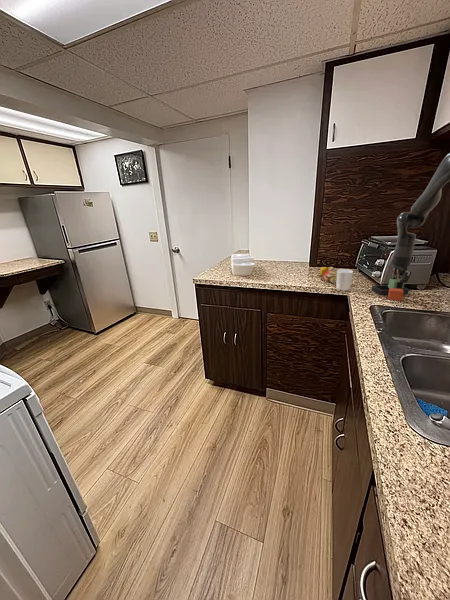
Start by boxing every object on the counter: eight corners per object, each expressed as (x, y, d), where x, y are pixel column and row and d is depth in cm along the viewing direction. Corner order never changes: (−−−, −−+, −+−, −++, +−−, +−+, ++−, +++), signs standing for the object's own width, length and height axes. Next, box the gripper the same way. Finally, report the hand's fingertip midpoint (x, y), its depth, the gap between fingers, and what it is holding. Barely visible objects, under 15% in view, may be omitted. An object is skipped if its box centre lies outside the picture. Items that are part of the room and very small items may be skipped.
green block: (397, 287, 129) (399, 278, 127) (403, 289, 125) (405, 280, 123) (387, 287, 129) (389, 279, 127) (392, 290, 125) (394, 281, 123)
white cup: (353, 289, 134) (356, 271, 130) (344, 292, 130) (347, 273, 127) (341, 285, 140) (343, 268, 137) (331, 288, 137) (333, 270, 133)
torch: (322, 279, 165) (337, 286, 141) (312, 273, 165) (324, 279, 141) (329, 268, 163) (345, 273, 139) (318, 262, 163) (332, 266, 139)
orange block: (400, 297, 120) (402, 288, 118) (401, 300, 116) (403, 291, 114) (387, 296, 122) (389, 287, 120) (388, 299, 118) (390, 290, 117)
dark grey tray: (397, 288, 131) (398, 284, 131) (408, 294, 124) (409, 289, 123) (371, 290, 131) (372, 285, 131) (380, 295, 124) (381, 290, 123)
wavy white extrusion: (231, 265, 198) (230, 252, 194) (251, 264, 197) (251, 251, 193) (230, 277, 165) (230, 261, 162) (255, 276, 165) (255, 261, 161)
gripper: (421, 257, 114) (412, 292, 120) (400, 252, 127) (393, 283, 134) (405, 258, 114) (397, 293, 120) (386, 252, 127) (379, 284, 134)
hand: (395, 288), depth 127 cm, fingers closed on green block, 4 cm apart
